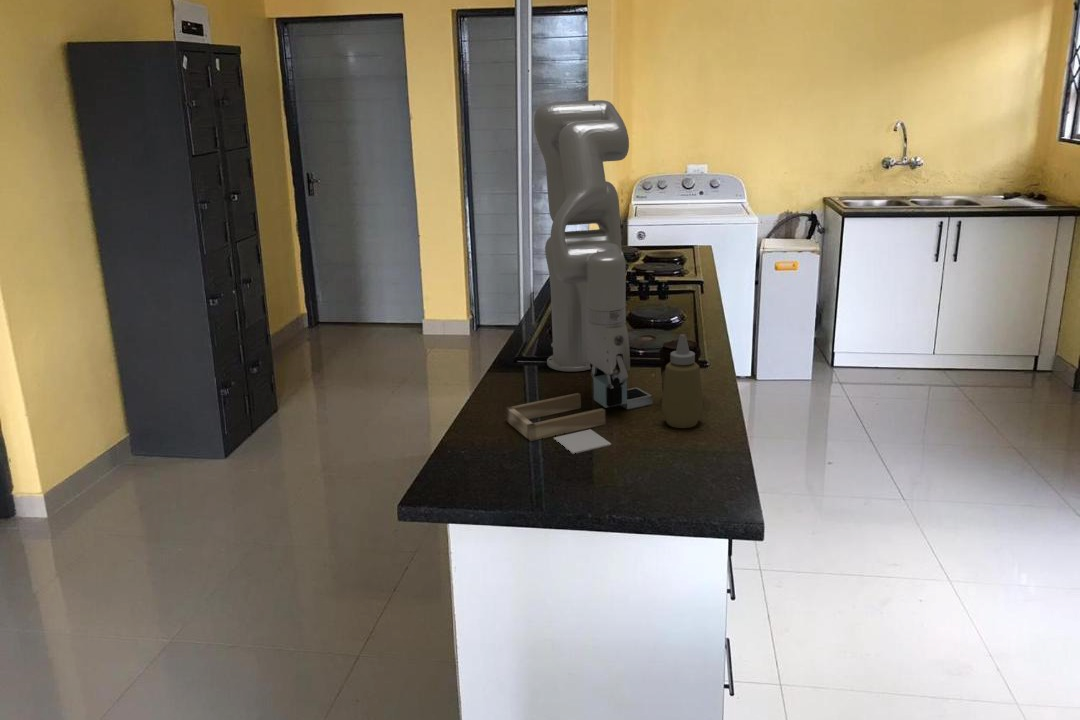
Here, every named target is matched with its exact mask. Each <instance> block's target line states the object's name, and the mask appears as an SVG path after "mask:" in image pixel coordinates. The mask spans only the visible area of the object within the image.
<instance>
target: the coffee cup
mask: <svg viewBox="0 0 1080 720" xmlns="http://www.w3.org/2000/svg"><path fill="white" fill-rule="evenodd" d="M678 340H679V339H677V340H671V341H666V342H663V344H662V345H663V346H662V347H661V348H660V350H659V352H658V353H659V360H660V363H659V364H660V376H661V389H662V392H663V386H664V377H665V368H666V365H667V364H668V363H670V354H671V352H673V351H676V349H677V345H678ZM687 342H688V347H689V351H692V352H694V353H695V363H697V364H698V365H699V359H700V356H701V352H702V350H701V348H699V347H698V342H696V341H693V340H690V339H687Z"/></svg>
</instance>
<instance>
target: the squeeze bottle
mask: <svg viewBox="0 0 1080 720" xmlns="http://www.w3.org/2000/svg"><path fill="white" fill-rule="evenodd" d="M677 340H678V345H677V349H676V351H673V352H671V354H670V363H668V364H667V365H666V368H665V377H664V386H663V391H662V397H661V411H662V413H663V416H664V419H665V422H666V424H667V425H668V426H669V427H672V428H676V429H687V428H689V429H690V428H692V427H695V426H696V425H697V424H698V422H699V420H700V416H701V415H702V412H703V409H704V404H703V403H704V402H703V393H702V391H703V390H702V380H701V369H700V365H699V363H698V364H697V363H695V353H694V352H692V351H689V347H688V342H687V340H688V338H687V334H685V333H681V334H679V336H678V339H677Z"/></svg>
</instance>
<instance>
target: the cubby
mask: <svg viewBox="0 0 1080 720" xmlns="http://www.w3.org/2000/svg"><path fill="white" fill-rule="evenodd" d="M581 397H582V394H580V393H579V392H576V393H571V394H567V395H561V396H556V397H551V398H547V399H542V400H537V401H532V402H527V403H524V404H523V403H522V404H518V405H513V406H507V407H505V412H506V416H505V417H506V422H507V423H508V425H510V426H512V427H513V428H514V429H515V430H516V431H518V432H519V433H520V434H521V435H522V436H524V437H525V438H526V439H527V440H528V441H529V442H533V441H538V440H541V439H542V438H543V439H546V438H551V437H555V435H556V436H561V435H565V434H570V433H575V432H579V431H584V430H588V429H591V428H594V427H600V426H604V425H606V409H604V408H602V407H601V408H597V409H592V410H587V411H583V412H578V413H574V414H569V415H565V416H560V417H556V418H550V419H546V420H542V421H537V422H533V421H530V420H531V419H532V420H533V419H537V418H542V417H546V416H552V415H555V414H556V415H557V414H561V413H565V412H570V411H573V410H580V409H581V408H582V398H581ZM564 433H565V434H564ZM543 439H542V440H543Z"/></svg>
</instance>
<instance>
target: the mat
mask: <svg viewBox="0 0 1080 720" xmlns="http://www.w3.org/2000/svg"><path fill="white" fill-rule="evenodd" d="M553 440H554V441H555V440H556V441H555V442H557V443H558V442H559V443H560V444H561V445H560V444H559V443H558V444H559V445H560V446H562V445H563V446H564V447H565V448H564V447H563V446H562V447H563V448H564V449H565V450H567V451H568V450H569V451H570V452H569V451H568V452H569V453H571V454H572V455H575V453H576V454H579V453H583V452H588V451H591V450H597V449H600V448H604V447H609V446H612V442H610V441H609V440H607V439H605V438H604V437H602V436H601V435H600V434H599V433H597V432H596V431H594V430H593V429H591V428H588V429H584V430H579V431H575V432H571V433H566V434H562V435H557V436H556V437H555V436H553Z"/></svg>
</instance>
